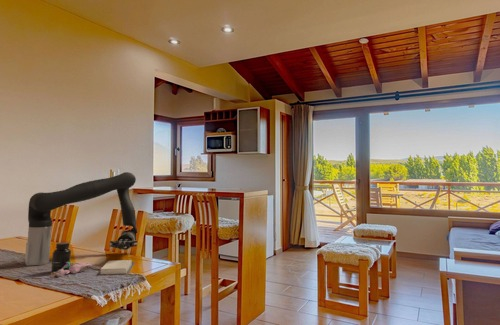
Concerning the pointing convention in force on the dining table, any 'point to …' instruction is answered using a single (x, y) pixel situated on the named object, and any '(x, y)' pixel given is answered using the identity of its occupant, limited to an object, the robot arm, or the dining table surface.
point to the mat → (119, 274)
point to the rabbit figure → (73, 269)
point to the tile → (116, 267)
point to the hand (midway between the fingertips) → (120, 246)
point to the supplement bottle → (61, 257)
